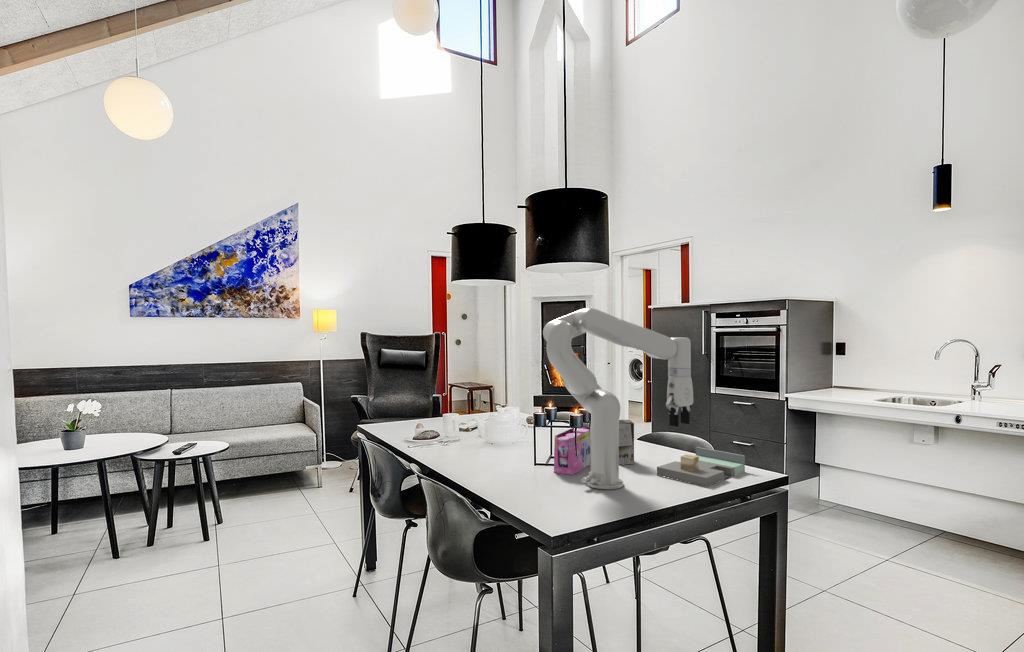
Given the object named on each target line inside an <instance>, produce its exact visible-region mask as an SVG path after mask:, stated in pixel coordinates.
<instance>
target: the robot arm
mask: <svg viewBox="0 0 1024 652" xmlns="http://www.w3.org/2000/svg"><path fill="white" fill-rule="evenodd" d="M542 329H543V330H542V335H543V339H544V340H545V342H546V345H545V347H546V354H547V355H546V356H547V359H548V361H549V363H550V365H551V366H552V367H553V368H554V370H555V371H556V372H557V373H558V375H559V376H560V377H561V378H562V379H563V385H564V387H565V388H566V390H567V391H568V393H570V395H571V396H572V397H573V398H574V399H575V400H576V401H577V402H578V403H579V404H580V406H581V407H582V408H583V410H585V411H586V412H588V413H589V414H590V415H591V418H590V424H589V425H590V427H589V428H590V465H589V466H590V467H589V468H590V469H589V471H588V475H587V476H583V477H582V478H581V482H582V484H586V485H587V486H588V487H590V488H593V489H597V490H617V489H620V488H623V487H624V481H623V480H622V479H620V478H619V477H620V476H619V474H620V471H619V469H620V468H619V467H620V465H619V439H618V430H619V420H620V416H621V403H620V400H619V398H618V397H617V396H616V395H615V394H614V393H613V392H610V391H608V390H604V389H603V388H602V387H601V386H600V385H599V384H598V381H597V377H596V376H595V374H594V373H593V372H592V371H591V370H590V368H588V367H587V366H586V364H585V363H584V362H583V361H582V360H581V359H580V358H579V356H577V355H576V353H575V352H574V350H573V348H572V339H573V338H576V337H578V336H581V335H583V334H590V335H592V336H596V337H598V338H601V339H602V340H605V341H608V342H610V343H612V344H616V345H617V346H622V347H625V348H631V349H635V350H638V351H639V350H640V351H642V352H644V353H645V354H646V355H647V356H648V357H650V358H652V359H657V360H659V359H660V360H667V377H668V379H667V388H666V389H667V390H666V402H665V407H666V410H667V411H668V416H669V417H668V418H669V422H668V423H669V426H670V427H671V426H672V427H680V426H679V424H680V423H681V424H684V425H689V424H690V420H691V419H690V417H691V414H690V412H691V408H692V405H693V404H694V386H693V380H692V370H691V369H692V367H691V366H692V361H691V359H692V357H691V356H692V354H691V351H692V350H691V347H692V346H691V345H692V344H691V339H690V338H689V337H687V336H686V337H679V336H678V337H675V336H674V337H669V336H667V335H665V334H662V333H660V332H657V331H654V330H652V329H649V328H648V327H647V328H646V327H643V326H641V325H638V324H635V323H633V322H629V321H627V320H624V319H622V318H619V317H617V316H614V315H612V314H610V313H608V312H607V313H606V312H604V311H601V310H599V309H597V308H593V307H584V308H580V309H578V310H576V311H574V312H571V313H568V314H566V315H562V316H561V317H558V318H556V319H553V320H551V321H548V322H547V323H546V324H545V325H544V327H543V328H542ZM679 408H681V411H680V414H678V412H679ZM679 417H680V418H679ZM679 419H680V423H679Z"/></svg>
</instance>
